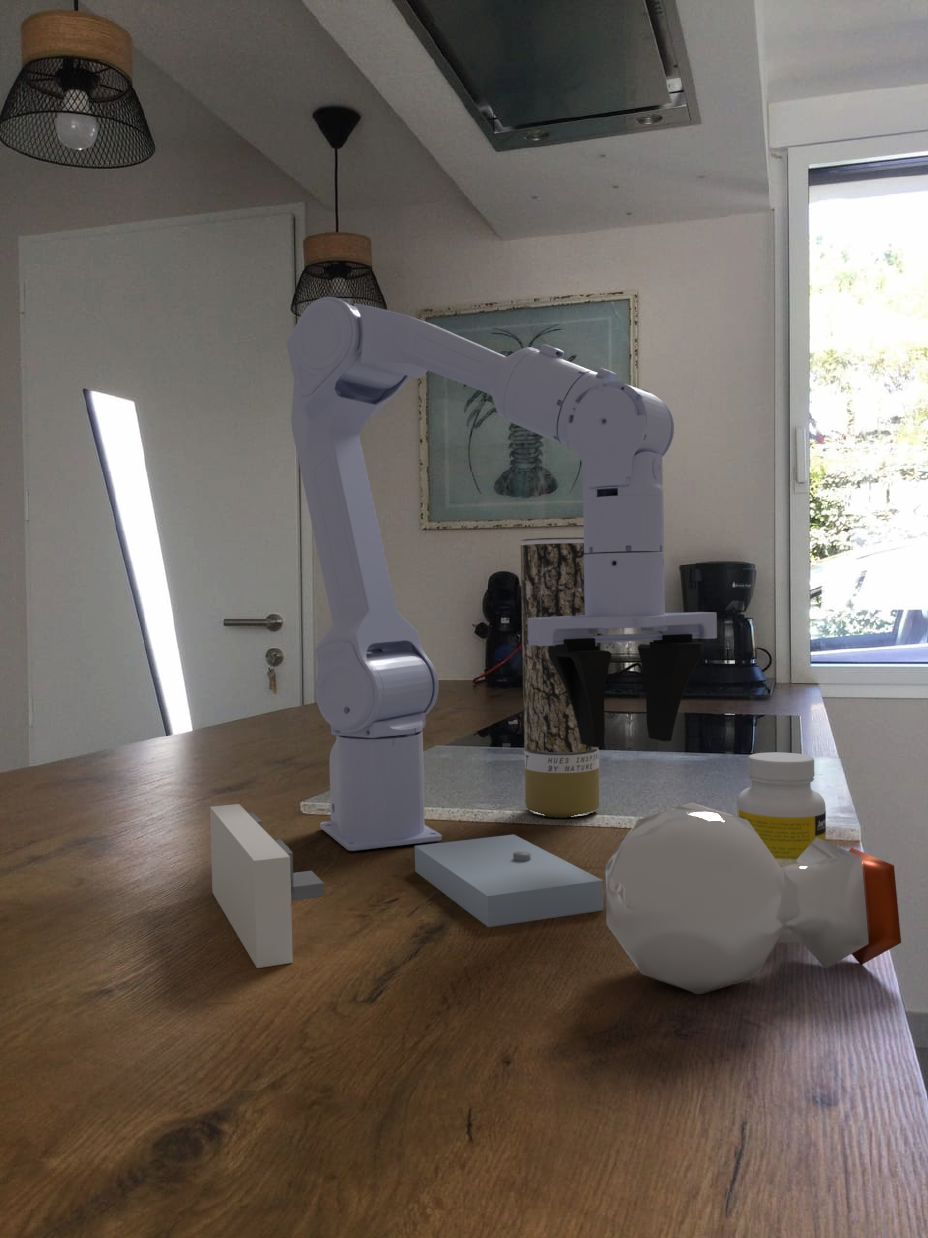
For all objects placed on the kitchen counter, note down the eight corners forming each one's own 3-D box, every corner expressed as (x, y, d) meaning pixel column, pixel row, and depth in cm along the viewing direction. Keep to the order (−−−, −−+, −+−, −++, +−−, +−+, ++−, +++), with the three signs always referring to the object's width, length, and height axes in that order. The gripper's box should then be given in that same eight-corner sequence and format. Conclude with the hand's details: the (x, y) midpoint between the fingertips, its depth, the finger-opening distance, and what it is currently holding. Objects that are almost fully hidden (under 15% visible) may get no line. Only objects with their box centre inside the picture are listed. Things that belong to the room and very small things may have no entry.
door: (415, 878, 78) (414, 840, 78) (514, 865, 81) (513, 829, 81) (488, 934, 65) (487, 889, 65) (603, 917, 68) (602, 874, 68)
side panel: (212, 892, 73) (210, 806, 73) (275, 884, 75) (273, 800, 75) (257, 968, 58) (254, 860, 58) (334, 956, 60) (331, 851, 60)
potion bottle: (586, 1011, 55) (841, 1014, 59) (657, 954, 48) (946, 961, 51) (567, 844, 61) (803, 856, 64) (628, 768, 53) (892, 786, 56)
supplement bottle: (832, 926, 64) (831, 764, 63) (739, 922, 65) (738, 763, 65) (820, 899, 69) (819, 750, 69) (735, 896, 70) (733, 749, 70)
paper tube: (612, 808, 98) (607, 538, 97) (579, 823, 92) (574, 536, 92) (547, 801, 102) (542, 541, 101) (511, 815, 96) (506, 539, 95)
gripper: (559, 552, 69) (562, 758, 70) (741, 551, 75) (744, 741, 75) (514, 556, 76) (517, 744, 76) (685, 554, 81) (687, 730, 82)
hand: (626, 742), depth 76 cm, fingers open, 5 cm apart
